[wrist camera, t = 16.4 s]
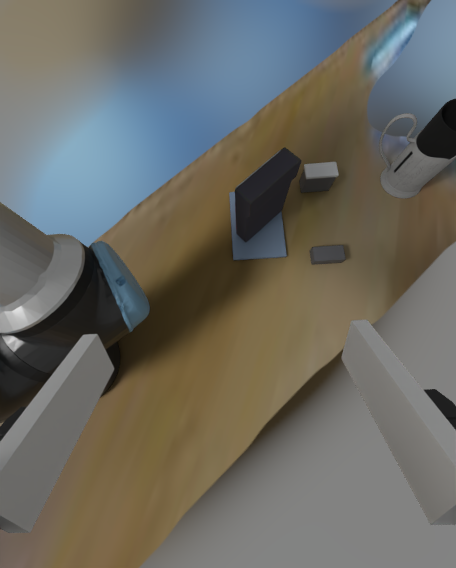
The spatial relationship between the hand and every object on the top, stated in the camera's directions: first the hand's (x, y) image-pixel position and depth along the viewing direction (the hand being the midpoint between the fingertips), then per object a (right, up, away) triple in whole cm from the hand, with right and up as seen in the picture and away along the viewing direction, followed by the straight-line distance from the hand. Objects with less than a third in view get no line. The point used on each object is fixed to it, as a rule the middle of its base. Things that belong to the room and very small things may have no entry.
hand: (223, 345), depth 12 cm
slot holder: (+20, +17, +37) cm, 45 cm away
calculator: (+7, +17, +37) cm, 41 cm away
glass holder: (+36, +27, +39) cm, 59 cm away
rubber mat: (+6, +16, +37) cm, 41 cm away
